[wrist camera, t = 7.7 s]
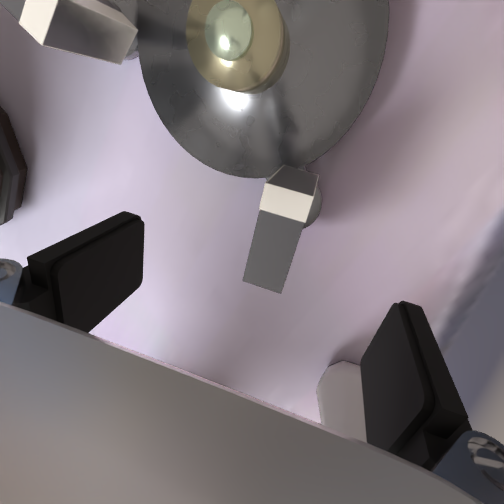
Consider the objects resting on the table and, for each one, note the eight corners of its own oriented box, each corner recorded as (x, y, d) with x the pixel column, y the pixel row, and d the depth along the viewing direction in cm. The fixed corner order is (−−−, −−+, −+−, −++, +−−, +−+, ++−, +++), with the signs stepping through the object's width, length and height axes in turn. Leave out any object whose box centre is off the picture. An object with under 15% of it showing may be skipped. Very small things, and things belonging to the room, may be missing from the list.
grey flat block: (267, 234, 24) (241, 281, 17) (286, 161, 21) (265, 182, 14) (296, 243, 24) (281, 294, 17) (320, 170, 21) (313, 196, 14)
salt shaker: (365, 348, 28) (387, 510, 16) (385, 391, 29) (419, 567, 18) (308, 360, 30) (293, 509, 19) (330, 400, 32) (328, 559, 20)
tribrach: (288, 240, 25) (275, 277, 19) (84, 36, 22) (-2, 8, 17) (563, 4, 16) (699, -62, 10) (268, -402, 13) (215, -827, 7)
